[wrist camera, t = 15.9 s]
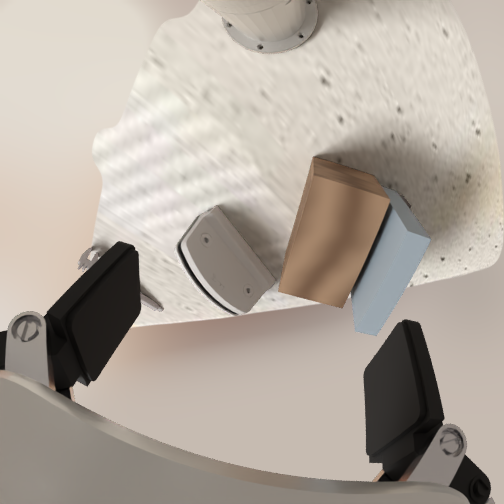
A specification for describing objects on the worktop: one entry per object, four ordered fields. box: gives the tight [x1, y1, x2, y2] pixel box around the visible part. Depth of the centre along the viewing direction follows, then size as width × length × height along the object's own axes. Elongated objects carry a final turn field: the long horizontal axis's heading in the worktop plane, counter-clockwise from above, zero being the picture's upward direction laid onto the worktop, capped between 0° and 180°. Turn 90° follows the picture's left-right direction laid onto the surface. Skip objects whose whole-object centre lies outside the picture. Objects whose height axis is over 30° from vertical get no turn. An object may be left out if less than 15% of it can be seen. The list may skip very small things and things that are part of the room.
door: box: [351, 186, 431, 336], centre depth 36 cm, size 4×14×15 cm, turn 169°
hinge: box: [174, 205, 276, 316], centre depth 46 cm, size 17×5×10 cm, turn 36°
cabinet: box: [278, 157, 411, 308], centre depth 38 cm, size 14×16×10 cm
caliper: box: [78, 248, 163, 311], centre depth 55 cm, size 20×1×6 cm, turn 49°
